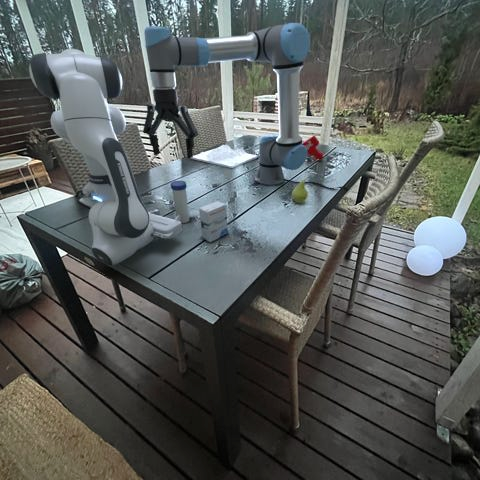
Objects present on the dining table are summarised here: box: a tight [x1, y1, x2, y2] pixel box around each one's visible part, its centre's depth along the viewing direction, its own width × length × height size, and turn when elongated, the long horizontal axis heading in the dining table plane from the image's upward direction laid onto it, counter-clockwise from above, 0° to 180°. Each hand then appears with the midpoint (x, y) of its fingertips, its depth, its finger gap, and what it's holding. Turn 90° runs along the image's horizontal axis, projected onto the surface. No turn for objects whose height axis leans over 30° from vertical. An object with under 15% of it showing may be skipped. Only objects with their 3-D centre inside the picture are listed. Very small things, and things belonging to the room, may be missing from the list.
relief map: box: [190, 144, 259, 169], centre depth 178 cm, size 27×35×5 cm
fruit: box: [291, 174, 311, 204], centre depth 118 cm, size 7×8×12 cm
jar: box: [171, 187, 191, 224], centre depth 104 cm, size 5×5×15 cm
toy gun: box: [302, 135, 324, 163], centre depth 173 cm, size 18×4×15 cm
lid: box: [170, 180, 187, 191], centre depth 100 cm, size 6×6×2 cm
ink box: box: [198, 200, 228, 243], centre depth 95 cm, size 8×5×12 cm, turn 135°
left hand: (168, 214), depth 99 cm, fingers open, 8 cm apart
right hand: (173, 155), depth 98 cm, fingers open, 13 cm apart
